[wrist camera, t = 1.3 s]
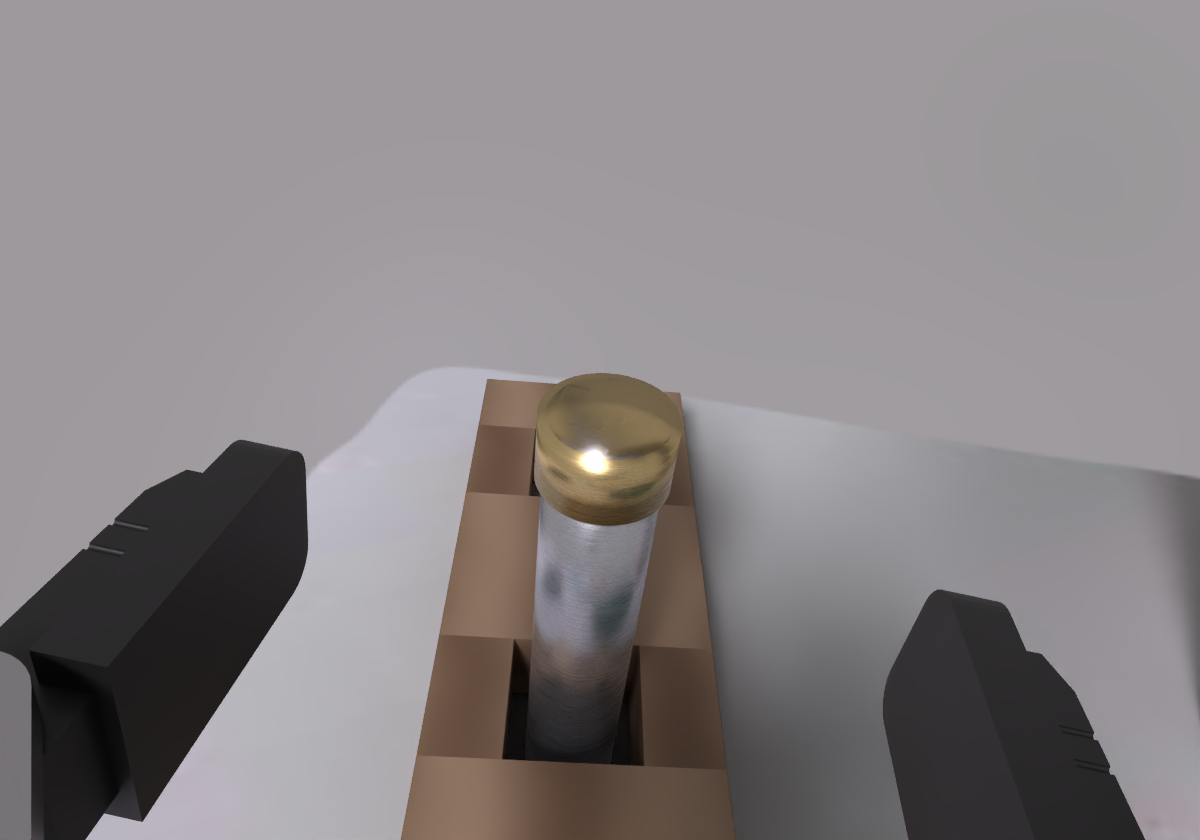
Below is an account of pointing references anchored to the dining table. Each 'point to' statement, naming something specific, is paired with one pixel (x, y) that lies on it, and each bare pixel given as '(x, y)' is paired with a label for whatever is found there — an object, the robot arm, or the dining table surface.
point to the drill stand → (502, 666)
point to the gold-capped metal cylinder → (593, 554)
